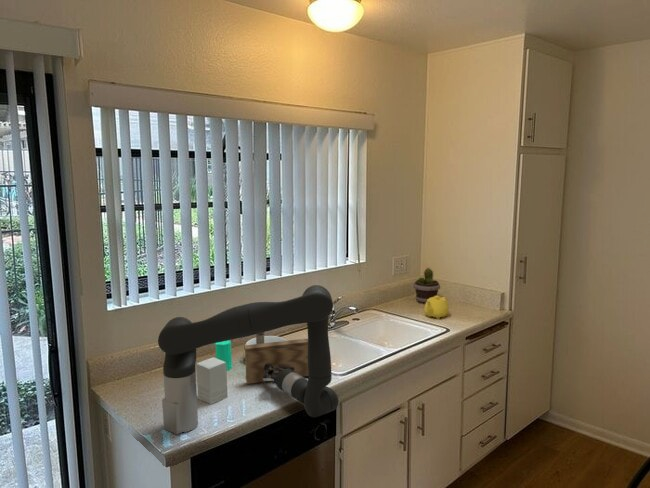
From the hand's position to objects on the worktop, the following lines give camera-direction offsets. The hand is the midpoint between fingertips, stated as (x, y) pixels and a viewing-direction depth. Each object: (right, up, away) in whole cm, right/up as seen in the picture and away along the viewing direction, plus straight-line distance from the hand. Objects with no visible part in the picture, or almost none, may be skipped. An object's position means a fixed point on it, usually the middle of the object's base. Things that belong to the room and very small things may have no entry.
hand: (266, 366), depth 181 cm
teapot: (+78, +7, +78) cm, 110 cm away
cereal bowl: (-3, -3, +24) cm, 24 cm away
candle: (-18, -4, +15) cm, 24 cm away
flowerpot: (+78, +11, +105) cm, 132 cm away
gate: (+4, -5, +4) cm, 7 cm away
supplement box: (-17, -8, -10) cm, 21 cm away
